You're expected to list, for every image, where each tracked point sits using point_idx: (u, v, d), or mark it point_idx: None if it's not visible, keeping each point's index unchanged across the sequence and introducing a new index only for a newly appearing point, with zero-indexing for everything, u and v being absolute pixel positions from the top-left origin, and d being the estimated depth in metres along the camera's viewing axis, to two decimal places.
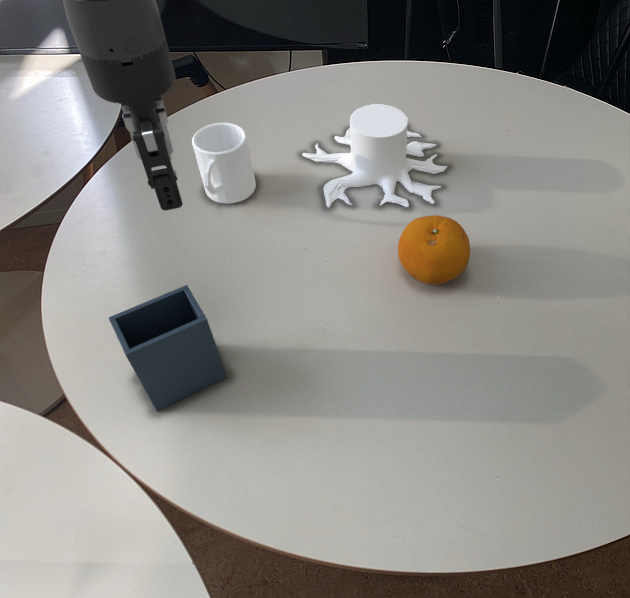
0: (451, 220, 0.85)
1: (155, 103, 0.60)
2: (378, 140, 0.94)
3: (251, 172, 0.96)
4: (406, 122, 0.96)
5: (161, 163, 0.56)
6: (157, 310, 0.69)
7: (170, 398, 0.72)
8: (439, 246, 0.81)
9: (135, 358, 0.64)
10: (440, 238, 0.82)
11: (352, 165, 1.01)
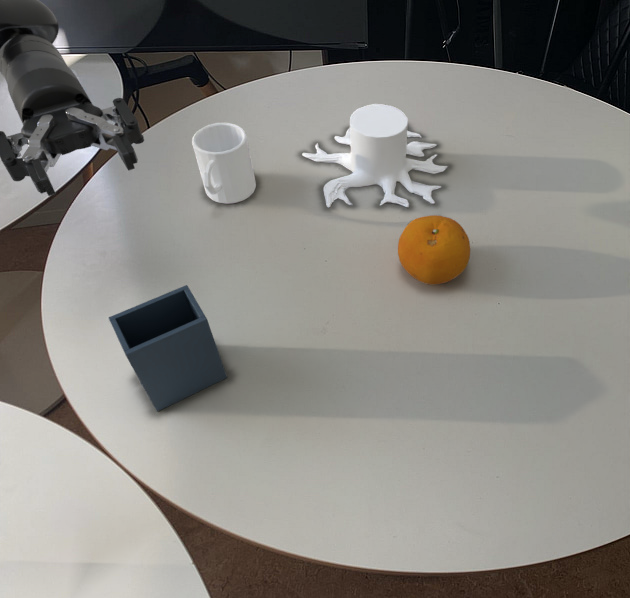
0: (451, 220, 0.85)
1: None
2: (378, 140, 0.94)
3: (251, 172, 0.96)
4: (406, 122, 0.96)
5: None
6: (157, 310, 0.69)
7: (170, 398, 0.72)
8: (439, 246, 0.81)
9: (135, 358, 0.64)
10: (440, 238, 0.82)
11: (352, 165, 1.01)
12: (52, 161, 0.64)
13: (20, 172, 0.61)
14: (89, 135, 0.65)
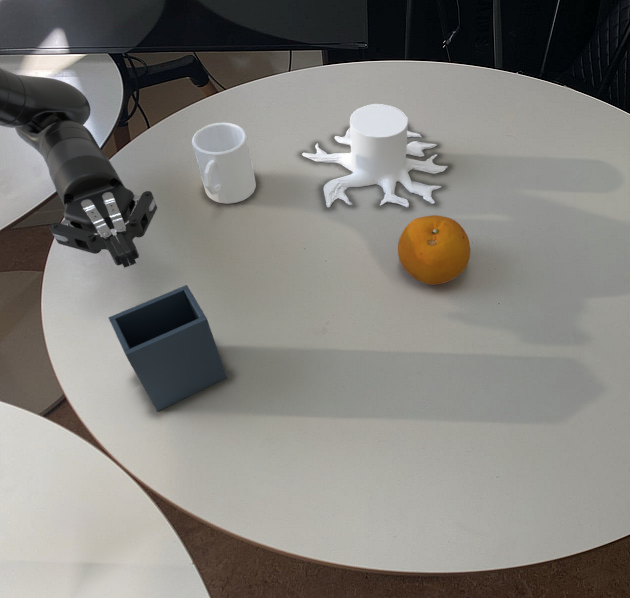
0: (451, 220, 0.85)
1: None
2: (378, 140, 0.94)
3: (251, 172, 0.96)
4: (406, 122, 0.96)
5: (148, 217, 0.75)
6: (157, 310, 0.69)
7: (170, 398, 0.72)
8: (439, 246, 0.81)
9: (135, 358, 0.64)
10: (440, 238, 0.82)
11: (352, 165, 1.01)
12: None
13: (98, 246, 0.71)
14: (123, 216, 0.74)
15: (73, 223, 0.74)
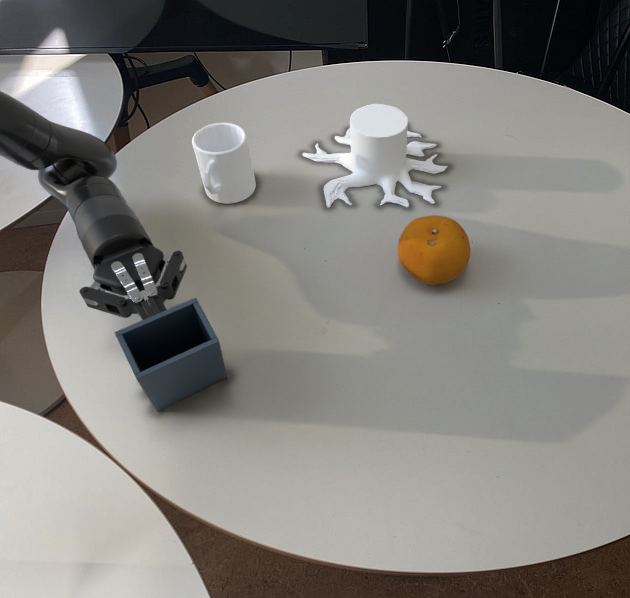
0: (451, 220, 0.85)
1: None
2: (378, 140, 0.94)
3: (251, 172, 0.96)
4: (406, 122, 0.96)
5: (178, 278, 0.74)
6: (164, 322, 0.66)
7: (171, 400, 0.72)
8: (439, 246, 0.81)
9: (145, 380, 0.63)
10: (440, 238, 0.82)
11: (352, 165, 1.01)
12: None
13: (130, 311, 0.70)
14: (153, 278, 0.73)
15: (103, 285, 0.72)
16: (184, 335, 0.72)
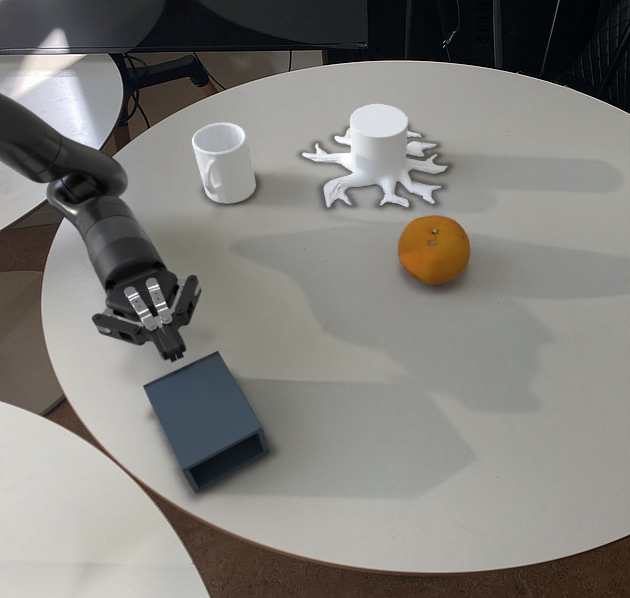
0: (451, 220, 0.85)
1: None
2: (378, 140, 0.94)
3: (251, 172, 0.96)
4: (406, 122, 0.96)
5: (193, 304, 0.71)
6: None
7: None
8: (439, 246, 0.81)
9: None
10: (440, 238, 0.82)
11: (352, 165, 1.01)
12: None
13: (144, 339, 0.68)
14: (168, 303, 0.70)
15: (115, 311, 0.70)
16: None
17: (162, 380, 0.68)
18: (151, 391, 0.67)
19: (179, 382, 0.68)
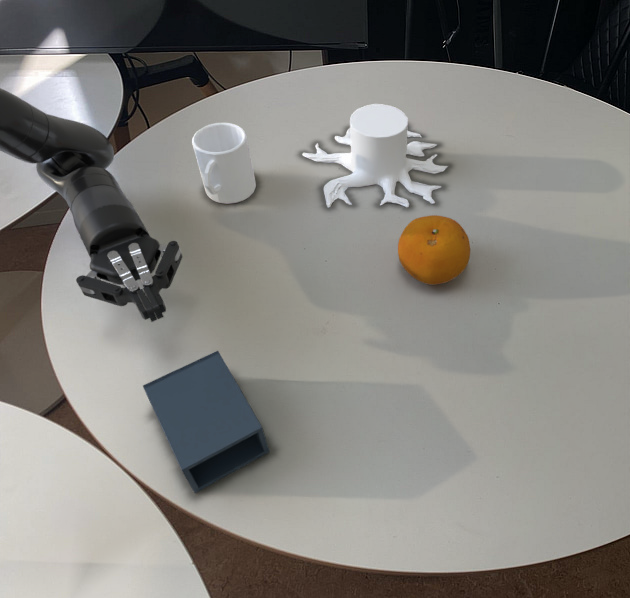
0: (451, 220, 0.85)
1: None
2: (378, 140, 0.94)
3: (251, 172, 0.96)
4: (406, 122, 0.96)
5: (174, 268, 0.75)
6: None
7: None
8: (439, 246, 0.81)
9: None
10: (440, 238, 0.82)
11: (352, 165, 1.01)
12: None
13: (125, 299, 0.71)
14: (149, 267, 0.74)
15: (99, 274, 0.73)
16: None
17: (162, 380, 0.68)
18: (151, 391, 0.67)
19: (179, 382, 0.68)
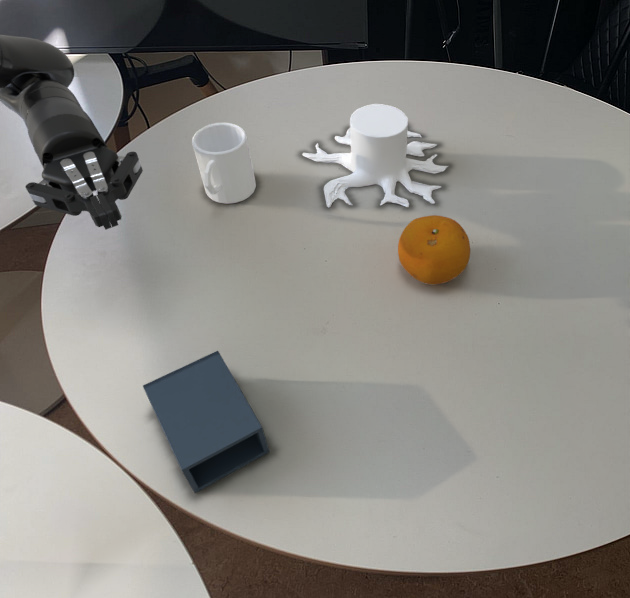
0: (451, 220, 0.85)
1: None
2: (378, 140, 0.94)
3: (251, 172, 0.96)
4: (406, 122, 0.96)
5: (132, 179, 0.70)
6: None
7: None
8: (439, 246, 0.81)
9: None
10: (440, 238, 0.82)
11: (352, 165, 1.01)
12: None
13: (78, 207, 0.66)
14: (106, 177, 0.69)
15: (52, 184, 0.69)
16: None
17: (162, 380, 0.68)
18: (151, 391, 0.67)
19: (179, 382, 0.68)
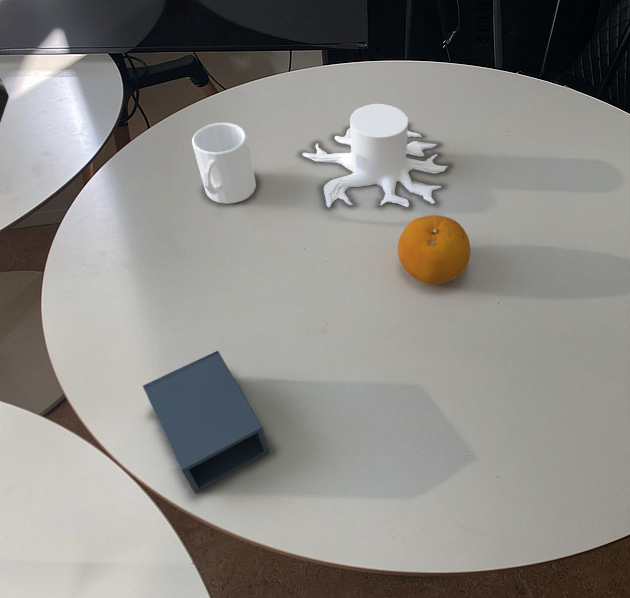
0: (451, 220, 0.85)
1: None
2: (378, 140, 0.94)
3: (251, 172, 0.96)
4: (406, 122, 0.96)
5: None
6: None
7: None
8: (439, 246, 0.81)
9: None
10: (440, 238, 0.82)
11: (352, 165, 1.01)
12: None
13: None
14: None
15: None
16: None
17: (162, 380, 0.68)
18: (151, 391, 0.67)
19: (179, 382, 0.68)
